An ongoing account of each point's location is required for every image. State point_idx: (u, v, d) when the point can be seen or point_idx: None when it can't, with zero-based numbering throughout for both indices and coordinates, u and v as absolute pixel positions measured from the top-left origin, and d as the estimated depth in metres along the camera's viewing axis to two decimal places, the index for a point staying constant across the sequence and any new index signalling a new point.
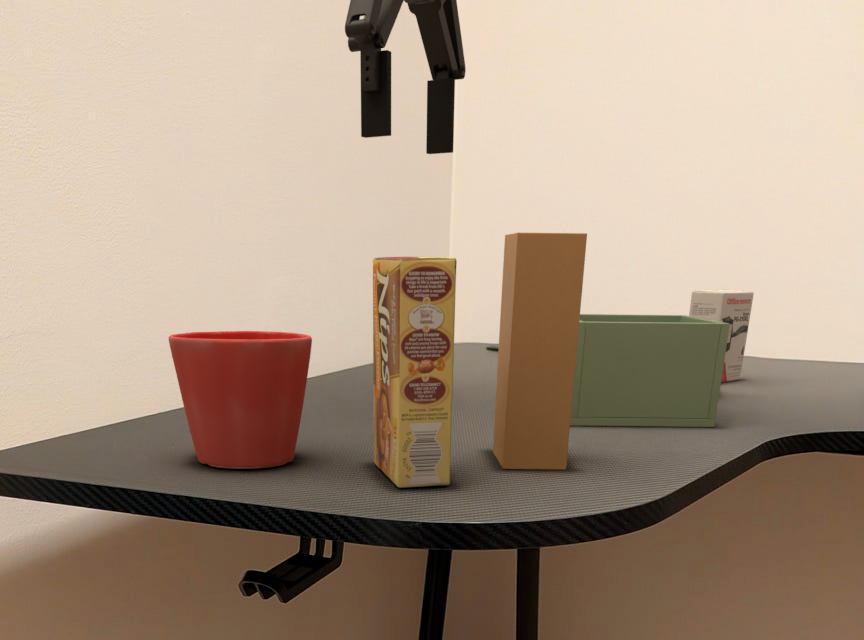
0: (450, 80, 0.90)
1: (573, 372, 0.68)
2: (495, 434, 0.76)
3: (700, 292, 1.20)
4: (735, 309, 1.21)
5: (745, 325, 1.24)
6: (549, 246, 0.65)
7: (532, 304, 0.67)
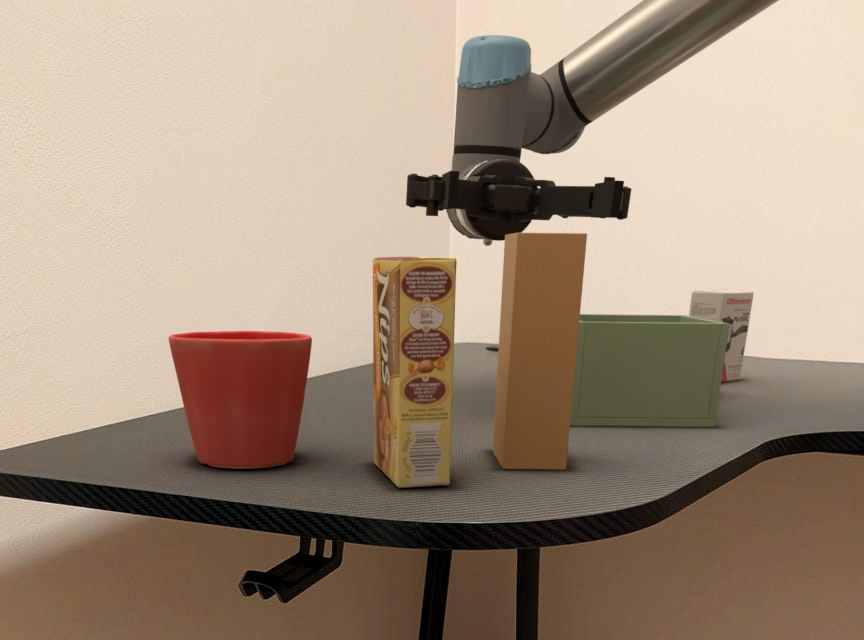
0: (595, 185, 0.80)
1: (573, 372, 0.68)
2: (495, 434, 0.76)
3: (700, 292, 1.20)
4: (735, 309, 1.21)
5: (745, 325, 1.24)
6: (549, 246, 0.65)
7: (532, 304, 0.67)
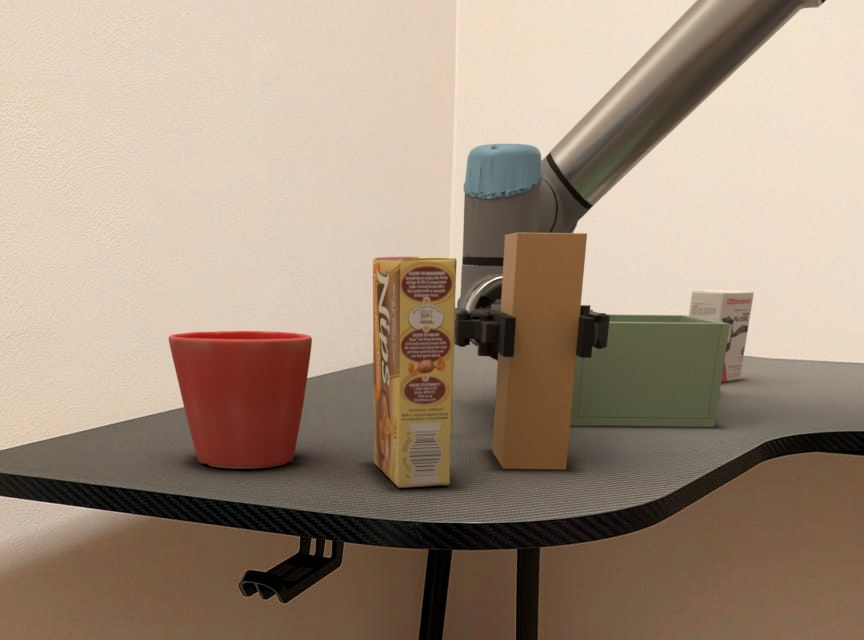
0: None
1: (573, 372, 0.68)
2: (495, 434, 0.76)
3: (700, 292, 1.20)
4: (735, 309, 1.21)
5: (745, 325, 1.24)
6: (549, 246, 0.65)
7: (532, 304, 0.67)
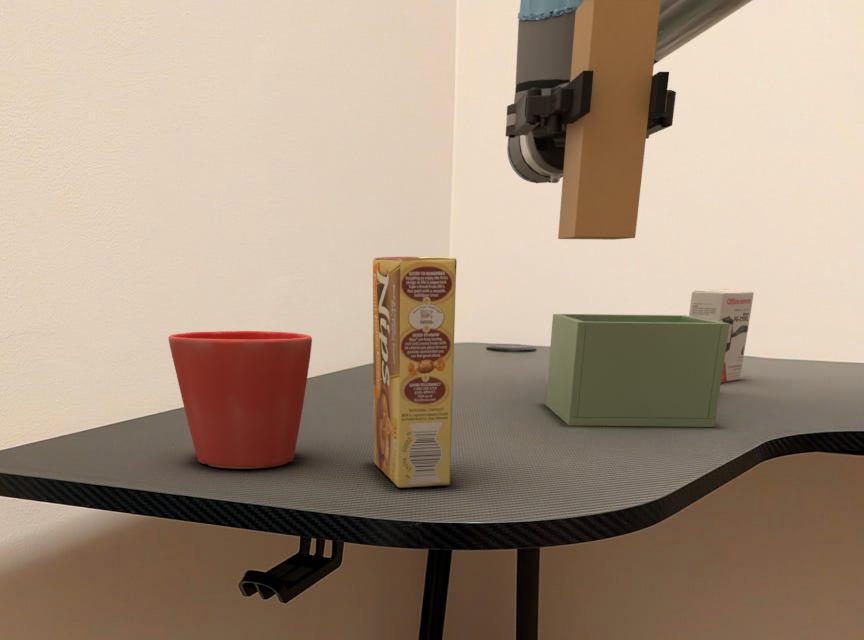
0: None
1: (645, 134, 0.71)
2: (562, 217, 0.78)
3: (700, 292, 1.20)
4: (735, 309, 1.21)
5: (745, 325, 1.24)
6: (625, 0, 0.68)
7: (607, 63, 0.69)
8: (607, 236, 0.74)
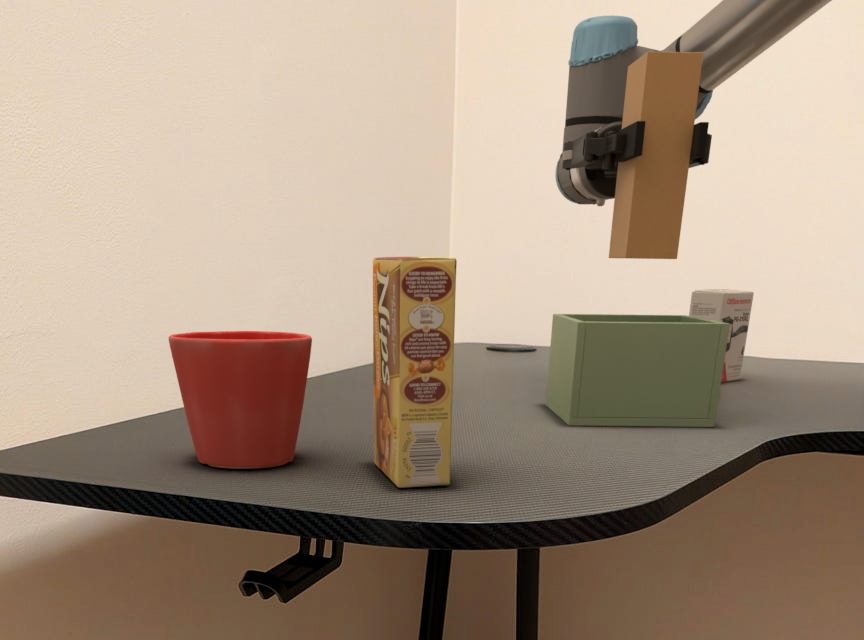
0: None
1: (687, 173, 0.85)
2: (613, 240, 0.92)
3: (700, 292, 1.20)
4: (735, 309, 1.21)
5: (745, 325, 1.24)
6: (672, 63, 0.81)
7: (656, 113, 0.83)
8: (653, 257, 0.87)
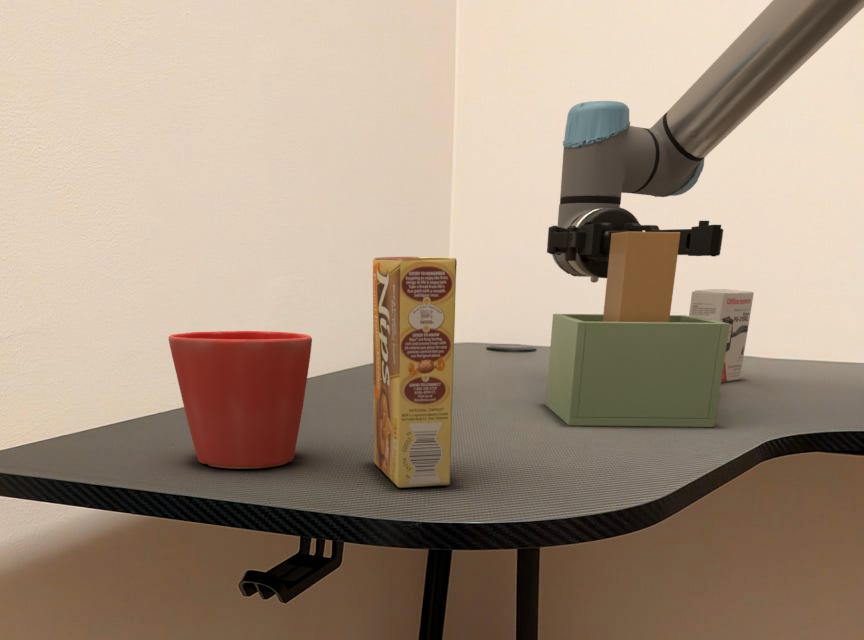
0: (692, 228, 0.92)
1: None
2: None
3: (700, 292, 1.20)
4: (735, 309, 1.21)
5: (745, 325, 1.24)
6: (651, 241, 0.87)
7: (637, 286, 0.89)
8: None
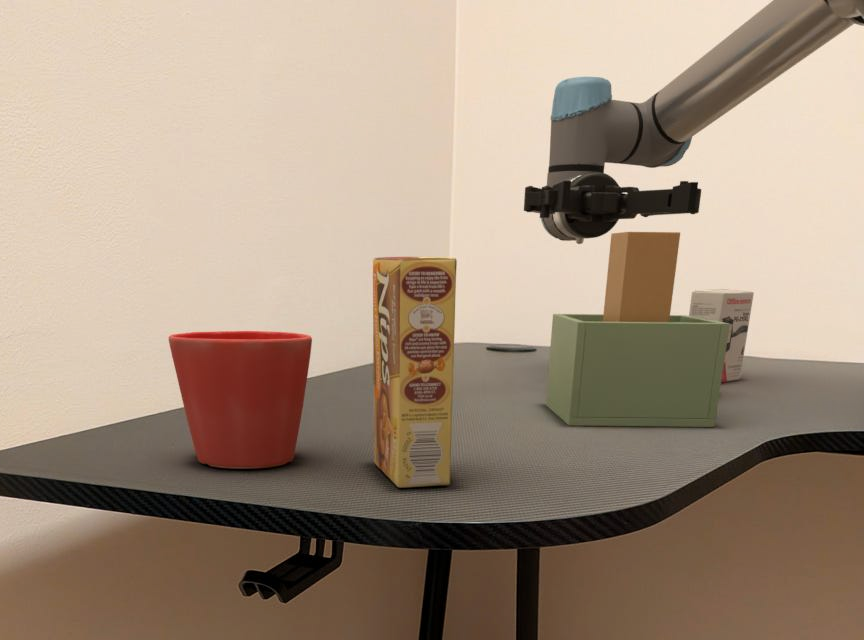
0: (673, 188, 1.03)
1: None
2: None
3: (700, 292, 1.20)
4: (735, 309, 1.21)
5: (745, 325, 1.24)
6: (651, 241, 0.87)
7: (637, 286, 0.89)
8: None
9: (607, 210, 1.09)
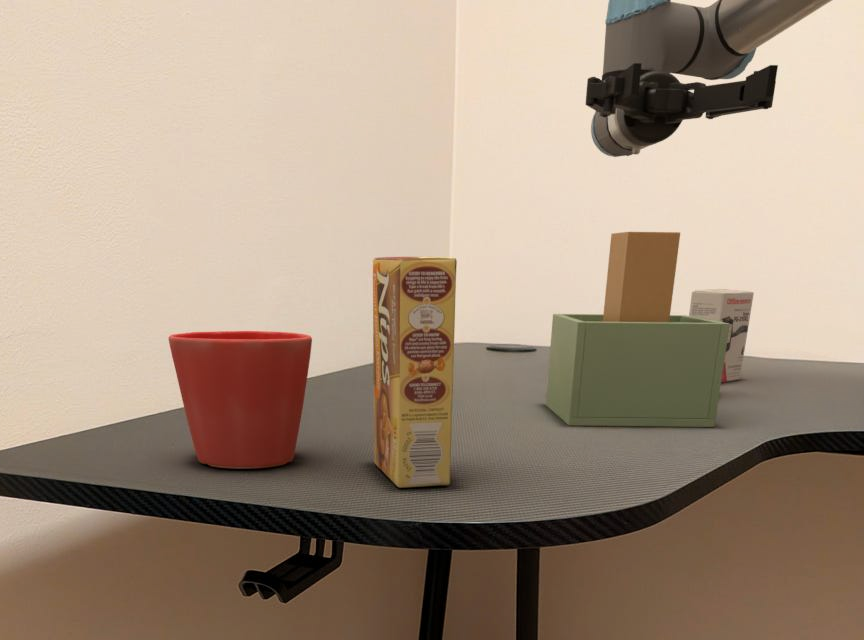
0: (747, 78, 0.96)
1: None
2: None
3: (700, 292, 1.20)
4: (735, 309, 1.21)
5: (745, 325, 1.24)
6: (651, 241, 0.87)
7: (637, 286, 0.89)
8: None
9: (672, 108, 1.02)
